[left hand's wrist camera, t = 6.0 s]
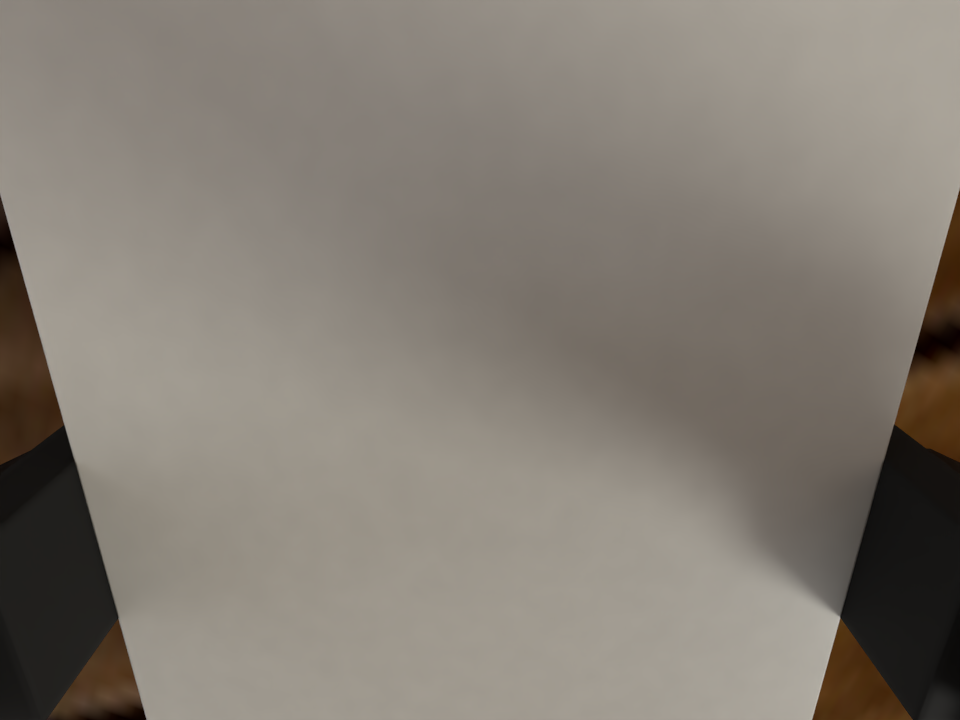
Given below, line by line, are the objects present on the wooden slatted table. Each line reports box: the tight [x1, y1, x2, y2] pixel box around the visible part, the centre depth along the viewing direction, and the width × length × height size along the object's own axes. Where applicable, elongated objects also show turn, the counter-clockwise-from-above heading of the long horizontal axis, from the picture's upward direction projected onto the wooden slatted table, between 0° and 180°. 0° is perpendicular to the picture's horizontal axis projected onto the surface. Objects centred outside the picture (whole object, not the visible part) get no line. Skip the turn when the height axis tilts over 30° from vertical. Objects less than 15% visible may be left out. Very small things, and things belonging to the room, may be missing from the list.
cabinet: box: [0, 0, 960, 720], centre depth 11 cm, size 20×11×9 cm, turn 0°
